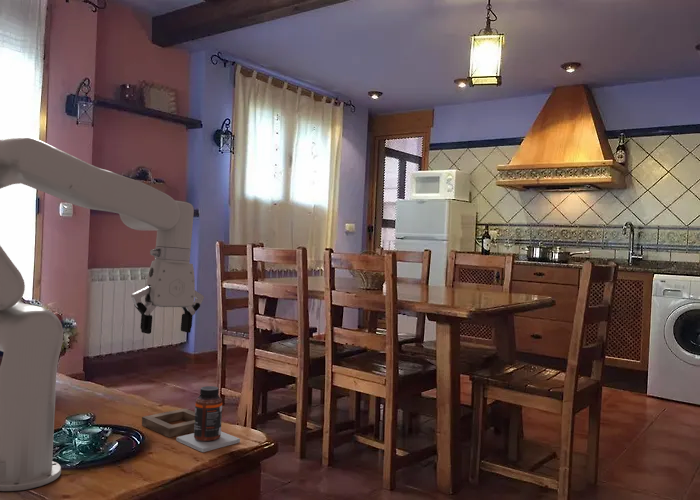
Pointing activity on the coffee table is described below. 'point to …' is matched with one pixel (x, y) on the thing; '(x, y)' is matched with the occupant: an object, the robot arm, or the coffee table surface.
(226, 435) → the glazed tile
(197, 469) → the coffee table surface
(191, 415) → the frame
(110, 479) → the coffee table surface
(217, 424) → the supplement bottle
